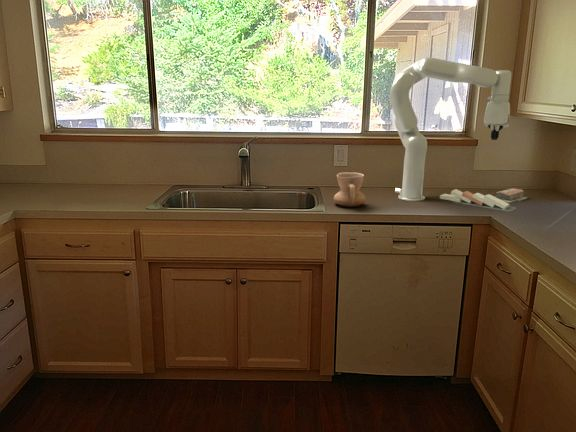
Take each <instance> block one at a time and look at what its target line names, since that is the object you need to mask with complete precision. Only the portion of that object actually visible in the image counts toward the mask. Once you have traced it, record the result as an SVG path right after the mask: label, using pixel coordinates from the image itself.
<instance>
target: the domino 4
mask: <svg viewBox="0 0 576 432" xmlns="http://www.w3.org/2000/svg"><path fill="white" fill-rule="evenodd" d="M473 194H474V195H473V198H475V199H477V200H479V201H481V202H483V203H485V204H487V205H489V206H491V207H495V206H497V205H495V204H493V203H491V202H489V201H487V200H485V199H483V198H484V196H485V195H484V194H482V193H480V192H476V193H473Z"/></svg>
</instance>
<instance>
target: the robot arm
mask: <svg viewBox="0 0 576 432" xmlns="http://www.w3.org/2000/svg"><path fill="white" fill-rule="evenodd" d="M425 78H431V79H434V80H440V81H445V82H450V83H465V84H469V85H470V84H471V85H475V86H476V87H479V88H491V90H490V91H491V92H490V95H488V96H487V100H489V101H488V102H487V103H486V107H485V112H484V116H483V126H485V127H486V128H487V127H488V129H489V130H490V131H491V134H490V138H491V141H496V140H498V138H499V135H500V131H501V130H503V128H505V129H506V128H509V126H510V125H509V122H510V119H511V118H510V117H511V105H510V104H511V103H510V102H509V97H510V90H511V82H512V71H511V70H507V69H504V70H499V69H498V70H494V69H491V68H487V67H483V66H479V65H478V66H477V65H471V64H466V63H462V62H455V61H451V60H446V59H440V58H435V57H428V56H427V57H423V58H421V59H419V60H417V61H416V62H414V63H413V64H411V65H410V66H408V67H406V68H404V69H403V70H401V71H399V72H398V73H397V74H396V75H395V76H394V77H393V82H392V84H391V87H390V91H389V101H390V105H391V108H392V110H393V113H394V117H395V118H394V124H395V127H396V130H397V131H396V132H397V133H398V136H399V138H400V141H401V143H402V145H403V147H404V148H405V150H404V151H405V152H404V158H403V173H402V184H401V185H402V186H401V188H399V187H395V190H394V192H395V193H398V194H399V195H397V196H398V197H397V198H398V199H399V200H401V201H407V202H409V201H413V202H414V201H418V202H419V201H424V200H426V196H424V195H423V187H424V186H423V185H424V175H425V164H426V163H425V162H426V155H427V150H428V141H427V138H426V136H425V135H423V134H422V133H421V132H420V130H419V127H418V123H419V122H418V117H417V115H416V112H415V111H414V107H413V105H412V102H411V99H410V91H411V89H412V88H413V87H414V85H416V84H417V83H418V82H420V81H422V80H423V79H425Z"/></svg>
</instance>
